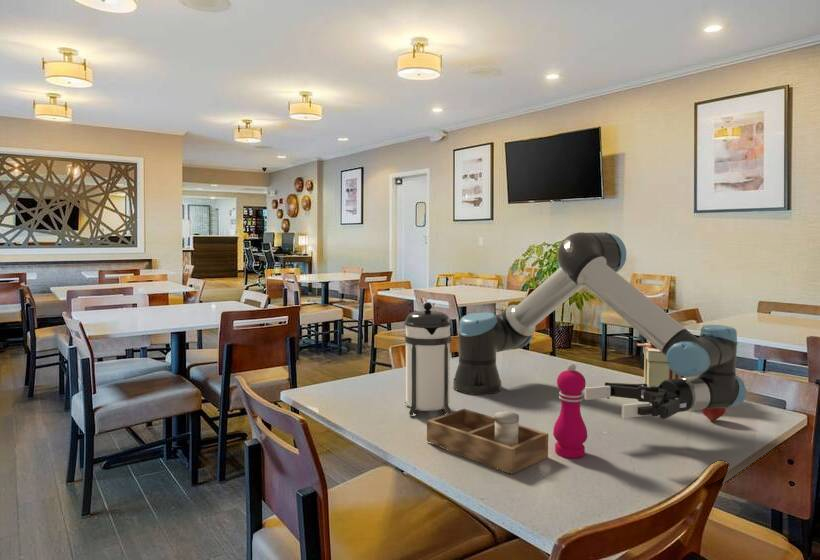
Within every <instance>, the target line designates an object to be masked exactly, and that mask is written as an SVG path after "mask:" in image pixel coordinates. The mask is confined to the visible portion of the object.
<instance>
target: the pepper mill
mask: <svg viewBox="0 0 820 560" xmlns="http://www.w3.org/2000/svg"><path fill="white" fill-rule="evenodd" d="M576 368H577V367H576V365H575V364H574V363H569V364H567V368H566V370H563V371H562V372H560V373H559V374H558V375H557V378H556V385H557V387H558V389H559V390H560V391H559V392H558V393H559V396H558V398H559V399H560V402H561V406H560V413H559V415H558V418H557V419H556V421H555V422H554V426H553V431H552V436H553V437H554V439H555V440H556V442H555V445H554V450H555V451H554V452H555V454H556V455H558V456H559V457H563V458H566V459H580V458H582V457H584V456H585V451H586V449H585V447H586V446H585V445H584V443H585V442H587V439H588V430H587V426H586V424H585V421H584V420H583V417H582V413H581V402H582V401H583V400H584V398H583V397H584V393H583V391H585V388H586V384H587V383H586V379H585V378H586V377H584V375H583V374H582V373H581V372H580V371H577V370H576Z"/></svg>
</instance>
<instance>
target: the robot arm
mask: <svg viewBox="0 0 820 560" xmlns="http://www.w3.org/2000/svg"><path fill="white" fill-rule="evenodd" d="M557 260H558V264H559V268H557V269H556V270H555V271H554V272H553V273H552V274H550V275H549V276H548V277H547V278H546V279H545V280H544V281H543V282H542V283H541V284H539V285H538V286H537V287H536V288H535V289H534V290H533V291H531V292H530V294H528V295H527V296H526V297H525V298H524V299H522V300H521V301H520V302H519V303H518V304H511V305H509V306H508V307H506V308H505V309H504V310H503V311H502V312H501V313H500V314H498V315H496V314H495V313H493V312H485V311H483V312H473V313H468V314H465V315H463V316H462V317H461V318H460V320H459V326H458V327H459V328H458V365H457V368H456V372H455V376H454V378H453V387H454V388H455V389H457V390H459V391H458V392H460V391H462V392H461V393H463V392H465V394H469V393H473V394H472V395H491V394H495V392H496V393H498V392H501V390H502V380H501V377H500V374H499V371H498V370H499V369H498V367H497V353H499V352H505V351H510V350H511V351H512V350H518V349H521V348H523V347H525V346H526V345H528V344H529V343H530V342H531V341H532V339H533V336H534V335H533V334H535V331H536V326H537V325H538V324H540V323H541V322H542V321H543V320H544V319H545V318H546V317H548V316H549V315H550V314H552V313H553V312H554V311H555V310H556V309H557V308H559V307H560V306H561V305H563V303H566V301H568V299H570V298H571V297H572V296H574V295H575V294H576V293H577V292H578V291H580V290H581V289H582V288H586V289H588V291H591V293H592V294H594V295H595V296H596V297H597V298H598V299H599V300H600V301H602V302H603V303H604V304H605V305H607V307H609V308H610V309H612V311H614V312H615V313H616V314H617V315H618V316H619V317H621V318H622V319H623V320H624V321H625V322H626V323H627V324H628V325H630V326H631V327H632V328H633V329H635V331H636V332H637V333H639V334H640V335H641V336H642V337H643V338H645V339H646V341H647V340H648V341H649V342H650V343H652V344H653V345H654V346H655V347H656V348H657V349H659V350H660V351H661V352H662V353H663V354H664V355H665V356H666V361H667V364H668V366H669V368H670V369H671V370H672V371H673V372H674V373H675V374H677V375H679V376H683V377H687V378H680V379H667V380H664V381H663V382H662V383H661V384H660V385H659V387H656V386H651V387H647V384H644V383H623V382H622V383H621V382H620V383H619V382H608V381H607V382H604V385H600V386H590V387H589V386H586V387H585V388H584V395H583V397H584V398H583V400H586V401H590V400H600V399H608V400H610V399H611V397H616V398H625V399H632V400H633V399H635V400H637V401H638V402H635V403H622V404H621V418H623V419H628V418H639V417H647V416H648V417H649V416H653V417H658V416H659V418H660V419H662V420H663V419H664V420H665V419H668V418H670V417H672V416H674V415H676V414H678V413H682V412H690V413H694V412H695V411H697V410H700V411H701V409H711V408H726V409H727V408H729V407H735V406H739V405H741V404H742V403H743V402H745V400H746V397H747V394H748V393H747V388H746V387H745V386H746V385H745V381H744V380H743V379H742V378H741V377H740V376H738V375H736V370H737V369H736V368H737V351H738V350H737V349H738V347H737V346H738V344H739V343H738V334H737V333H738V332H737V329H736V328H734V327H732V326H728V325H724V324H723V325H721V324H705V325H702V326H701V328H700V333H699V337H697V336H695V334H693V333H691V332H690V331H689V330H688V329H687V328H685V326H683V325H682V324H681V323H679V322H678V321H677V320H676V319H674V317H672V316H671V315H669V314H668V313H667V312H666V311H664V310H663V309H662V308H661V307H660V306H659V305H657V304H656V303H655V302H654V301H652V300H651V299H650V298H648V297H647V296H646V295H645V294H644V293H643V292H641V290H639V289H638V288H636V287H635V286H634V285H633V284H632V283H630V282H629V281H628V280H626V279H625V278H624V277H623V276H621V275H620V274H619V273H618V272H619V271H620V270H621V269H623V267H624V265H625V264H626V262H627V248H626V245H625V243H624V242H623V240H622V239H621V238H620V237H619V236H617V234H613V233H610V232H606V231H601V232H582V231H581V232H575V233H572V234H570V235H568V236H566V237H565V238H564V239H563V240H562V242H561V243H560V244H559V247H558V250H557ZM698 375H699V377H690V376H698ZM454 388H453V389H454ZM455 389H454V390H455ZM457 390H456V391H457ZM490 393H491V394H490Z"/></svg>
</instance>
